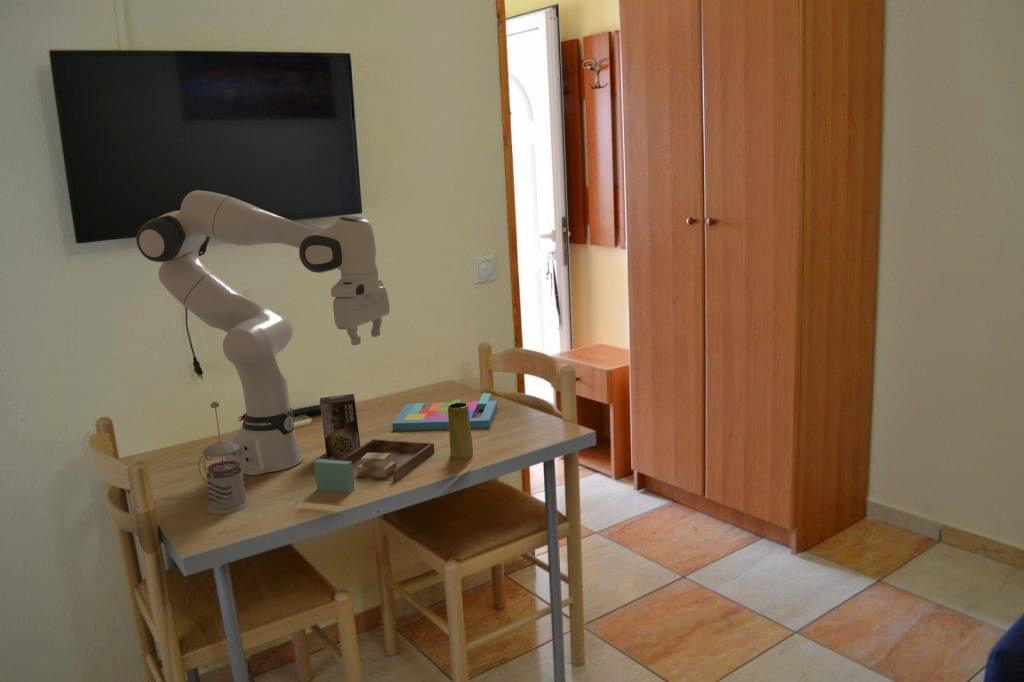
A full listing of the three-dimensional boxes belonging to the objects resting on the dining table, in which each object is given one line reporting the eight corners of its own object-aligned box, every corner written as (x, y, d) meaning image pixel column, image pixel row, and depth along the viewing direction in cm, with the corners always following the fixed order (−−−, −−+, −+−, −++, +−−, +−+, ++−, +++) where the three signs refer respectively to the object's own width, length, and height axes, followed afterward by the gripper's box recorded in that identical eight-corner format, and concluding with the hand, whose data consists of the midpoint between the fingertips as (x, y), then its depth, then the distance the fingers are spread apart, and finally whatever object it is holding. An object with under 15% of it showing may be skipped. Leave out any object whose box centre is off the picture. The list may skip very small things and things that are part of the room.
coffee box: (360, 451, 232) (354, 393, 229) (361, 458, 226) (355, 399, 223) (326, 455, 231) (319, 397, 227) (326, 463, 224) (319, 403, 221)
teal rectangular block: (317, 491, 204) (313, 461, 202) (322, 488, 206) (318, 458, 204) (350, 495, 201) (347, 464, 199) (354, 491, 202) (351, 461, 201)
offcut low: (358, 475, 211) (357, 466, 211) (368, 467, 216) (367, 459, 215) (386, 477, 208) (385, 469, 208) (396, 470, 213) (395, 461, 213)
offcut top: (362, 466, 211) (361, 458, 210) (368, 461, 214) (367, 452, 214) (385, 467, 209) (384, 458, 209) (391, 461, 213) (390, 453, 212)
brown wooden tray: (331, 479, 212) (329, 466, 211) (374, 451, 231) (373, 438, 230) (396, 485, 206) (394, 471, 205) (434, 455, 225) (433, 443, 224)
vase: (452, 464, 218) (447, 409, 215) (448, 456, 224) (444, 403, 221) (476, 460, 219) (472, 406, 216) (471, 453, 225) (467, 400, 222)
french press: (231, 516, 194) (216, 409, 188) (191, 510, 198) (175, 406, 193) (259, 499, 202) (246, 396, 197) (221, 494, 207) (207, 394, 202)
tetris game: (489, 429, 245) (500, 401, 272) (489, 420, 245) (500, 393, 272) (393, 432, 248) (413, 404, 275) (392, 423, 248) (412, 396, 275)
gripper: (371, 277, 219) (376, 331, 221) (326, 291, 200) (332, 349, 203) (393, 277, 216) (398, 331, 219) (349, 291, 198) (356, 349, 201)
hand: (366, 340), depth 211 cm, fingers open, 8 cm apart
